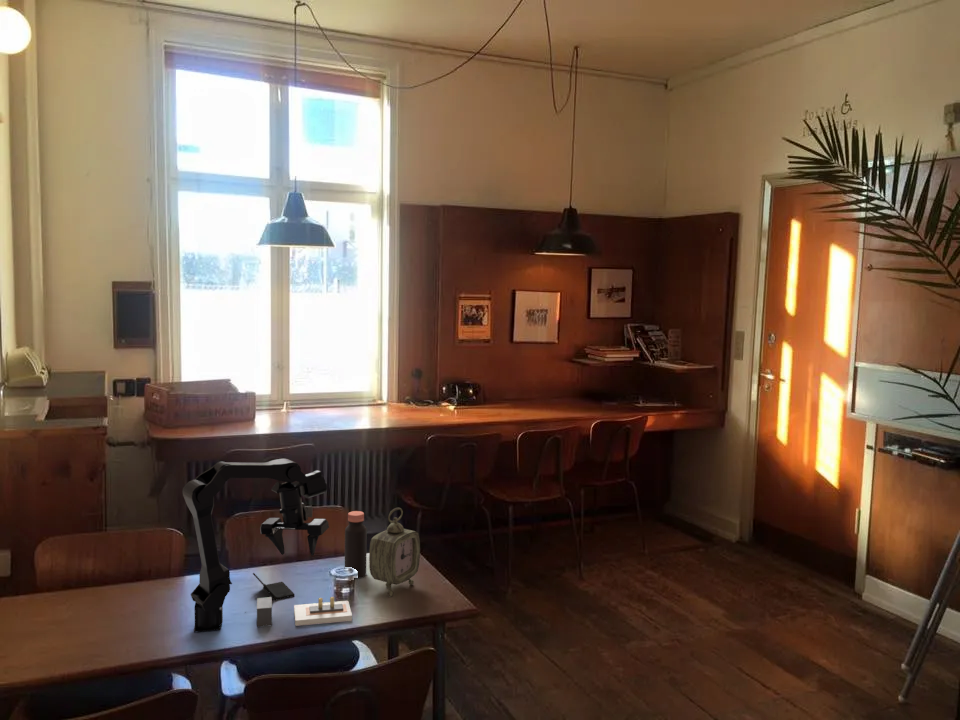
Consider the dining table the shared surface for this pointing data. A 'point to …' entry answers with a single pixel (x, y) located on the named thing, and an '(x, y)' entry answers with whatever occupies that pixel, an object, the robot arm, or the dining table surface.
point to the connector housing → (264, 611)
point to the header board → (322, 612)
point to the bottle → (356, 543)
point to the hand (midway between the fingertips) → (297, 554)
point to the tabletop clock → (394, 554)
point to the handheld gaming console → (277, 590)
